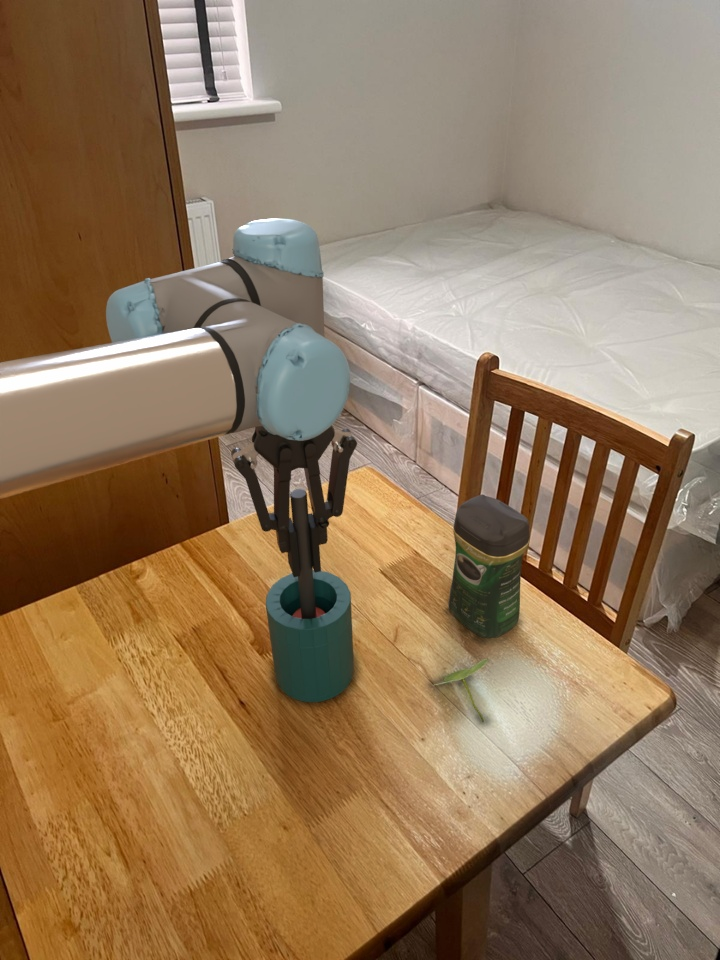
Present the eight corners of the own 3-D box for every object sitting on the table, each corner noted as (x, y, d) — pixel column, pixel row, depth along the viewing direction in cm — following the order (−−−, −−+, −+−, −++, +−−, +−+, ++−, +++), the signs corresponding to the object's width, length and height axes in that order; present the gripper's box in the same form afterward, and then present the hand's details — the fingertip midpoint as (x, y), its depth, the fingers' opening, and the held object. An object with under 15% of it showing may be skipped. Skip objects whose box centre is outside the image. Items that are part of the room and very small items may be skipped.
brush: (298, 663, 90) (282, 508, 77) (290, 638, 94) (274, 486, 80) (332, 655, 91) (323, 500, 78) (323, 630, 95) (312, 478, 81)
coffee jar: (528, 622, 101) (544, 516, 91) (487, 649, 98) (499, 542, 87) (478, 584, 108) (488, 482, 97) (438, 608, 104) (444, 504, 93)
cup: (285, 711, 90) (275, 638, 83) (268, 651, 98) (258, 580, 91) (363, 690, 93) (361, 617, 85) (341, 633, 101) (337, 562, 93)
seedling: (464, 729, 93) (443, 680, 95) (518, 706, 90) (496, 656, 92) (441, 739, 87) (419, 686, 89) (498, 715, 84) (475, 661, 86)
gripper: (350, 359, 76) (355, 534, 90) (208, 381, 73) (236, 560, 86) (372, 390, 70) (375, 573, 84) (219, 416, 67) (247, 602, 80)
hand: (304, 566), depth 85 cm, fingers closed on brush, 2 cm apart
